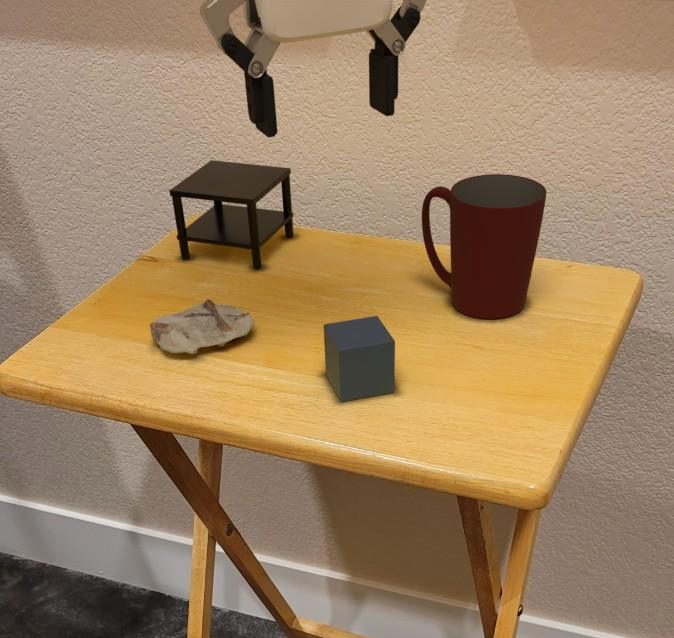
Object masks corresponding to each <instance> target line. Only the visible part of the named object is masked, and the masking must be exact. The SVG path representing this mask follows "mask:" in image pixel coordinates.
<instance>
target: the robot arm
mask: <svg viewBox="0 0 674 638" xmlns="http://www.w3.org/2000/svg"><path fill="white" fill-rule="evenodd" d="M402 1H403V2H402V3H401V5H400V6H399V7H398V8H397V9H396V11H395V13H394V14H393V16H392V17H391V14H392V8H393V0H205V1H204V2H203V3H202V4H201V5H200V7H199V15H200V17H201V19H202V21H203V22H204V24H205V26H206V27H207V29H208V31H209V33H210V34H211V36H212V37H213V39H214V41H215V42H216V45H217V47H218V48H219V49H220V50H221V52H223V53H224V55H226V56H227V57H228V58H229V59H230V60H231V61H232V62H233V63H234V64H236V65H237V67H238V68H239V69H241V70H242V71H243V75H244V76H243V77H244V86H245V94H246V104H247V114H248V118H249V121H250V122H251V124H253V125H255V128H256V129H257V130H258V131H259V132H260V133H262V134H263V135H264V136H265V137H267V138H268V139H269V138H273V137H274V138H275V137H276V135H277V134H278V122H277V121H278V120H277V110H276V109H277V108H276V97H275V85H274V79H273V77H272V76H270V75H269V74H268V71H267V70H268V67H269V65H270V63H271V61H272V59H273V57H274V55H275V54H276V52H277V50H278V49H279V47H280V45H281V44H286V43H287V44H288V43H296V42H303V41H311V40H317V39H323V38H324V39H325V38H330V37H336V36H342V35H343V36H344V35H350V34H356V33H362V32H366V33H367V34H368V36H369V38H371V40H372V41H373V43H374V48H370V50H369V53H368V91H369V92H368V95H369V96H368V97H369V98H368V99H369V100H368V101H369V106H370V108H372V110H373V109H374V110H375V111H377V112H379V113H380V114H381V115H383V116H385V117H391V116H394V115H395V108H396V107H395V104H396V103H395V101H396V100H397V99H398V97H399V56H400V55H403V53H404V52H405V50H406V43H407V41H408V40H409V39H410V37H411V36H412V34H413V33H414V32H415V29H416V28H417V27H418V26H419V24H420V22H421V14H422V11H423V10H424V8H425V5H426V3H427V0H402ZM240 6H242V12H243V18H244V23H245V24H246V26H247V27H248V28H249V29H251V30H250V32H249V33H248V35H247V37H246V39H245V41H244V43H243V42H242V41H241V40H240V39H239V38H238V37H237V36H236V35H235V33H234V30H233V29H232V28H233V27H232V26H231V25H230V22H229V21H230V20H229V18H230V15H232V13H233V12H235V11H236V10H237V9H238V8H240ZM390 18H391V19H390Z"/></svg>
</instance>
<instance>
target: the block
mask: <svg viewBox="0 0 674 638" xmlns="http://www.w3.org/2000/svg"><path fill="white" fill-rule="evenodd" d="M323 342H324V343H323V344H324V345H323V346H324V367H325V376H326V378H327V379H328V382H329V383H330V385H331V387H332V389H333V390H334V392H335V394H336V396H337V398H338V399H339V402H341V403H342V402H343V403H344V402H349V401H354V400H359V399H365V398H366V399H367V398H370V397H371V398H372V397H377V396H382V395H388V394H393V393H395V377H396V376H395V374H396V373H395V370H396V369H395V368H396V367H395V364H396V362H395V361H396V340H395V339H394V337H393V336H392V334H391V333H390V332H389V330H388V329H387V328H386V326H385V325H384V323H383V322H382V319H380V317H379V316H378V315H372V316H366V317H360V318H353V319H348V320H342V321H336V322H329V323H324V324H323Z"/></svg>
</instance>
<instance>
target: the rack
mask: <svg viewBox="0 0 674 638" xmlns="http://www.w3.org/2000/svg"><path fill="white" fill-rule="evenodd" d="M291 174H292V171H291V167H281V166H272V165H264V164H263V165H261V164H253V163H242V162H234V161H233V162H232V161H222V160H210V161H208V162H206V163H205V164H204V165H202V166H201V167H200V168H198V169H197V170H195V171H194V172H193V173H191V174H190V175H189V176H187V177H185V178H184V179H183V180H181V181H180V182H178V183H177V184H176V185H175V186H173V187H172V188H171V189H169V196H170V197H171V201H172V206H173V213H174V219H175V220H174V221H175V225H176V232H177V234H176V240H177V241H178V245H179V252H180V259H181V260H182V261H188V260H191V253H190V245H189V242H190V243H197V244H198V243H199V244H206V245H213V246H220V247H221V246H222V247H229V248H235V249H236V248H238V249H243V250H244V249H246V250H250V252H251V261H252V262H251V263H252V269H253V270H255V271H260V270H262V268H263V264H262V263H263V262H262V253H261V248H262V247H263V246H264V245H266V243H267V242H269V241H270V239H271V238H272V237H274V236H275V235H276V233H278V232H279V231H280V230H281V229H282V228H283V227H284V238H285V239H289V240H291V239H293V238H294V237H295V236H294V222H293V218H294V212H293V207H292V193H291V192H292V190H291V177H290V176H291ZM280 183H281V198H282V210H274V209H268V208H267V209H266V208H257V203H259V202H260V201H261V200H262V199H263V198H264V197H265V196H266V195H268V194H269V193H270V192H272V191H273V190H274V189H275V188H276V187H277V186H278V185H279V184H280ZM182 198H186V199H195V200H202V201H212V202H213V206H212V207H210V208H209V209H208V210H206V211H205V212H204V213H203V214H202V215H200V216H198V218H196V219H195V220H194V221H193V222H191V223H190V224H189V225H188V226H186V220H185V214H184V206H183V200H182ZM223 203H229V204H223ZM233 204H238V205H233ZM241 205H246V206H241Z"/></svg>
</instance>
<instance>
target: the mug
mask: <svg viewBox="0 0 674 638" xmlns="http://www.w3.org/2000/svg"><path fill="white" fill-rule="evenodd" d="M434 198H439V199H442V200H443V201H445V203H447V205H448V207H449V242H450V243H449V244H450V245H449V248H450V250H449V251H450V271H448V270H447V269H446V268H445V266H444V265H443V263H442V262H441V259H440V258H439V256H438V253H437V250H436V248H435V244H434V241H433V236H432V230H431V229H432V228H431V220H430V219H431V216H430V207H431V202H432V200H433V199H434ZM546 200H547V189H546V187H545V186H544V185H543V184H542V183H540V182H539V181H536V180H535V179H531V178H529V177H524V176H520V175H515V174H505V173H502V174H501V173H492V174H491V173H490V174H479V175H473V176H470V177H465V178H463V179H460V180H458V181H457V182H455V183H454V184H453V185H452V186H451V188H450V189H449V188H448V187H446V186H442V185H441V186H440V185H439V186H435V187H433V188H432V189H429V191H428V192H427V194H426V195H425V197H424V198H423V202H422V207H421V229H422V238H423V243H424V248H425V251H426V255H427V257H428V260H429V263H430V264H431V266H432V269H433V270H434V272H435V274H436V275H437V277H438V278H439V279H440V280H441V281H442V282H443V283H444V284H445V285H447V286H448V287H449V288H450V289H451V304H452V306H453V307H454V309H456V310H457V312H459V313H461V314H464V315H466V316H469V317H472V318H477V319H488V320H489V319H495V320H496V319H502V318H507V317H512V316H513V315H516V314H518V313H520V312H522V310H523V309H524V307H525V306H526V305H525V304H526V301H527V296H528V292H529V287H530V282H531V278H532V272H533V268H534V264H535V258H536V254H537V248H538V244H539V238H540V235H541V230H542V224H543V218H544V213H545V212H544V211H545V207H546V206H545V205H546Z"/></svg>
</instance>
